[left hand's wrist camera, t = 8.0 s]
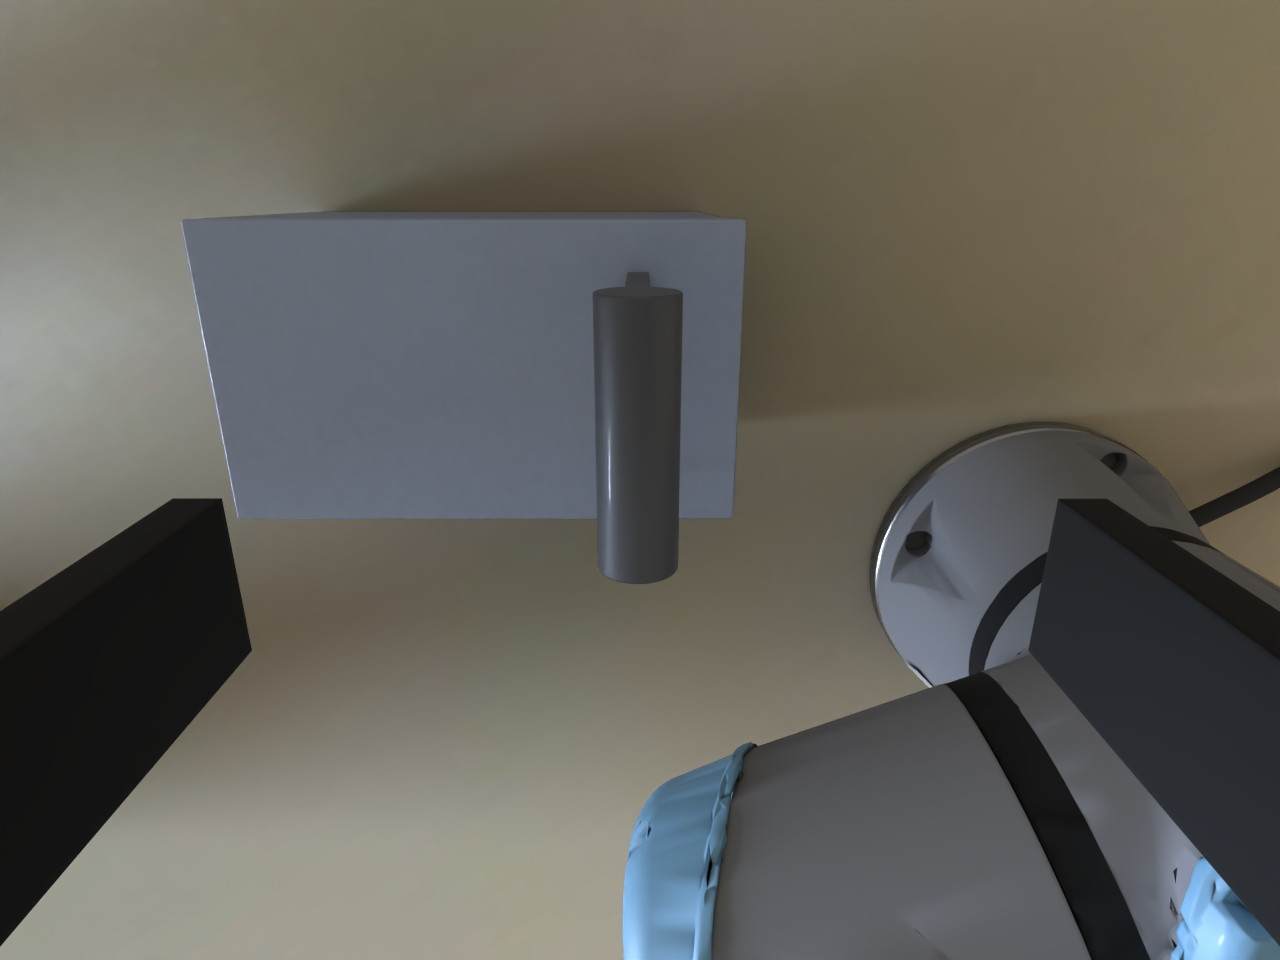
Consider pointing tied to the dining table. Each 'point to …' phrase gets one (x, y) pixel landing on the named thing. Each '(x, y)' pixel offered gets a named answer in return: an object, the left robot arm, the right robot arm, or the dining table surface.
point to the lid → (479, 371)
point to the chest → (482, 215)
